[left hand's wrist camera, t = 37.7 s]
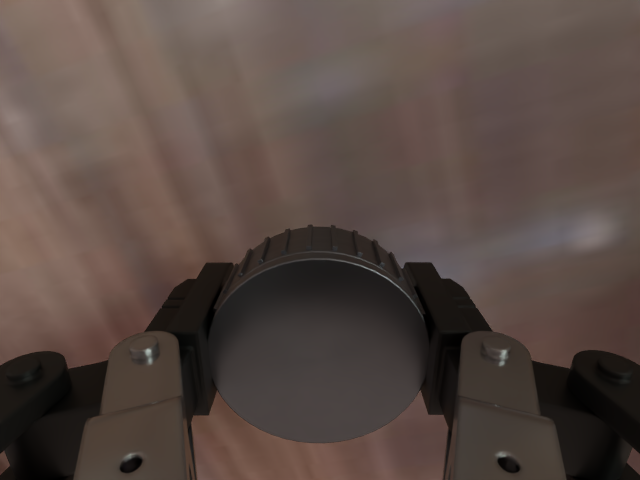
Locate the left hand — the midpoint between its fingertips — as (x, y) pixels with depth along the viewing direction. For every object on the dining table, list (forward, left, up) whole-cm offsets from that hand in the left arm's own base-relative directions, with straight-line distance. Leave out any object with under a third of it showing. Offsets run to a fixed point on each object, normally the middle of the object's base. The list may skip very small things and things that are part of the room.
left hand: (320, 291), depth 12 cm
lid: (0, 0, +3) cm, 3 cm away
